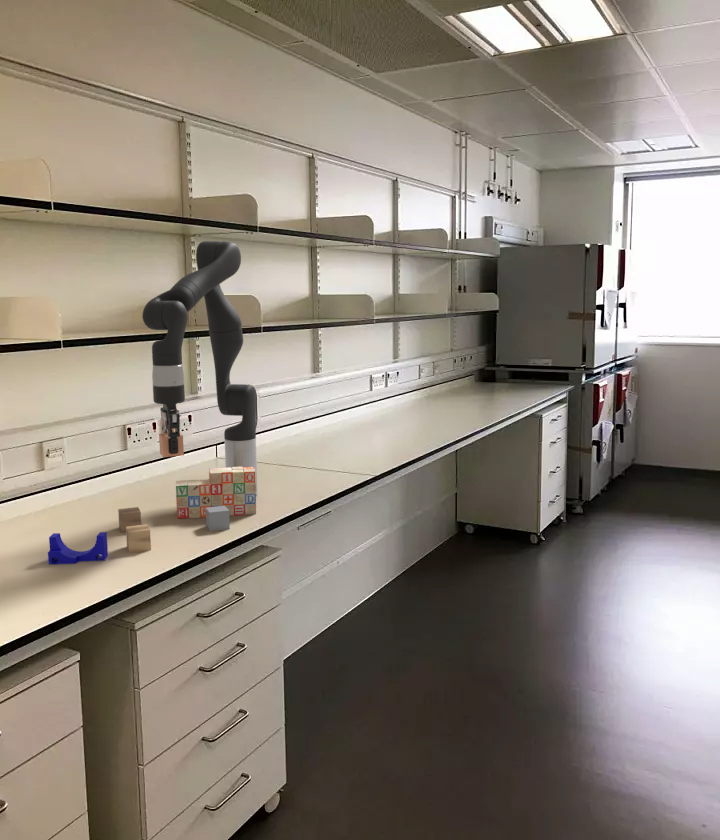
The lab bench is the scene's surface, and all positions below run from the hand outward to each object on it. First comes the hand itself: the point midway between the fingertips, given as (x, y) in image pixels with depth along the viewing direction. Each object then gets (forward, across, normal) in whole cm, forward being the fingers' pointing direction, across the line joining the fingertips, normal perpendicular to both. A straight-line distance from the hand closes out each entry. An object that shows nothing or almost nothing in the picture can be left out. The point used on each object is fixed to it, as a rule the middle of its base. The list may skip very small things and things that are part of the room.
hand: (171, 451), depth 197 cm
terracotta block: (+1, 0, 0) cm, 1 cm away
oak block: (+21, -8, +10) cm, 25 cm away
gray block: (+21, +1, -11) cm, 24 cm away
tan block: (+21, +9, +10) cm, 25 cm away
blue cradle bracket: (+22, -11, +24) cm, 34 cm away
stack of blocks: (+22, +14, -14) cm, 29 cm away
